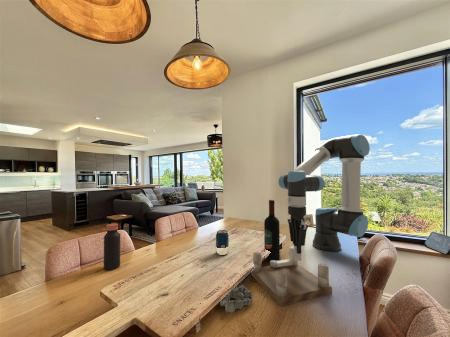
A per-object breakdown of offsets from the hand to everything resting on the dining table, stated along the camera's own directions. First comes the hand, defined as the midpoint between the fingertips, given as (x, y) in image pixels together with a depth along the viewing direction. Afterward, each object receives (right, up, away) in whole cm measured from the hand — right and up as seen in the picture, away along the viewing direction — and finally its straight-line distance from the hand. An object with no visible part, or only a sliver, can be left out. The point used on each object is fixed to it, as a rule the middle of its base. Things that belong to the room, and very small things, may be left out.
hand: (297, 260), depth 89 cm
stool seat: (-7, -6, -8) cm, 12 cm away
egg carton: (-28, -6, -20) cm, 35 cm away
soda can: (-33, -7, +23) cm, 41 cm away
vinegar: (-85, -7, +7) cm, 85 cm away
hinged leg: (-5, -3, +2) cm, 7 cm away
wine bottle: (-8, -7, +15) cm, 18 cm away
